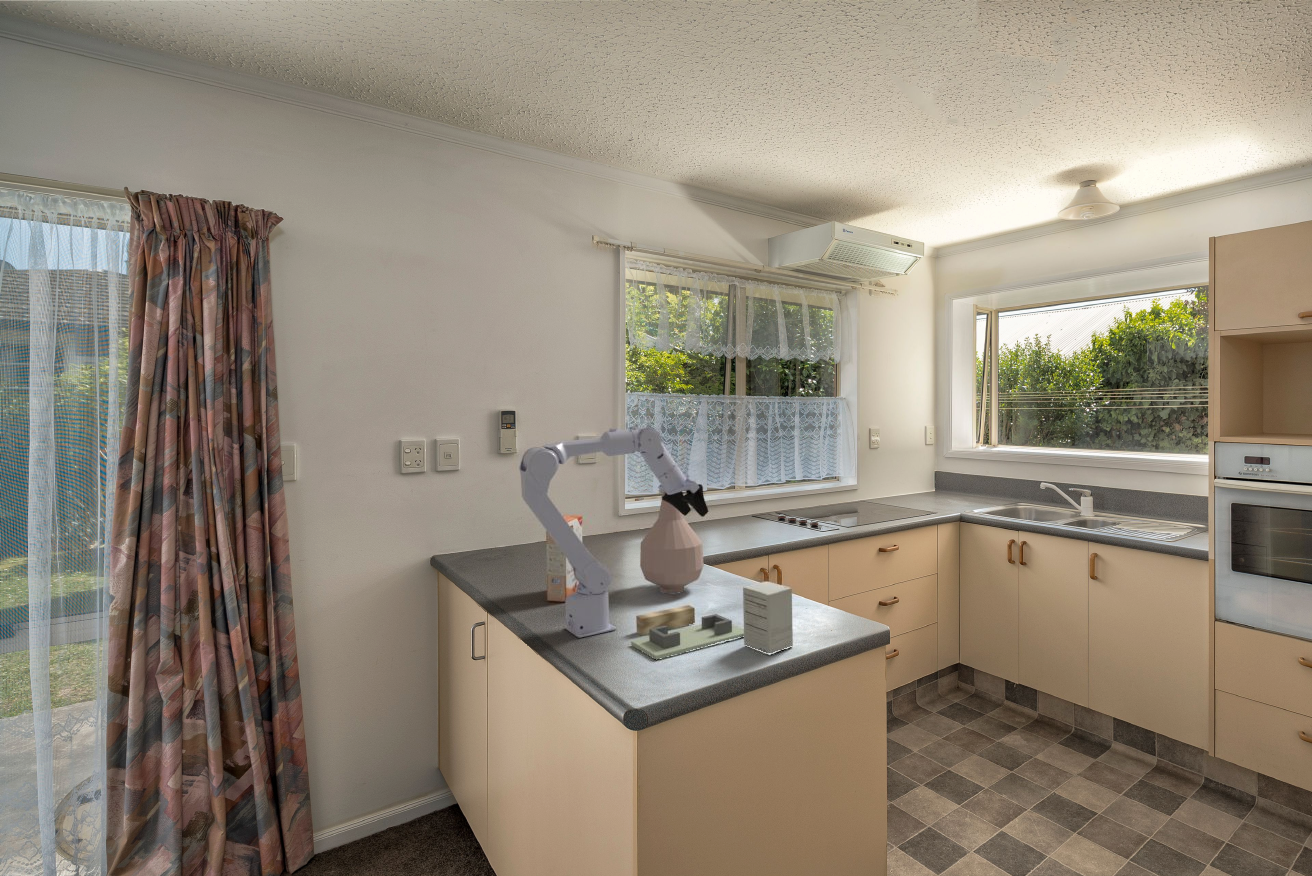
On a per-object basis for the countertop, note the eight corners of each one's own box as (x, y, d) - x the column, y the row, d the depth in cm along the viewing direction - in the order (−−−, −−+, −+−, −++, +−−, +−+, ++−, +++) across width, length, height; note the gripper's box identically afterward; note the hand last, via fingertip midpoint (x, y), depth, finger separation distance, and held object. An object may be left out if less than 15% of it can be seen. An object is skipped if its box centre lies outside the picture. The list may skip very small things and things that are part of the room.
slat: (642, 636, 140) (641, 618, 139) (636, 633, 142) (636, 615, 142) (694, 624, 147) (694, 607, 147) (688, 621, 149) (688, 605, 149)
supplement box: (767, 638, 136) (766, 580, 136) (793, 648, 131) (793, 587, 130) (742, 646, 132) (741, 586, 132) (768, 656, 126) (768, 594, 126)
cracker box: (568, 602, 165) (566, 523, 164) (546, 602, 166) (544, 522, 165) (584, 588, 179) (583, 514, 178) (564, 587, 180) (562, 514, 179)
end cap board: (656, 660, 125) (655, 643, 125) (631, 645, 134) (630, 629, 134) (749, 636, 138) (749, 620, 138) (721, 623, 146) (721, 608, 146)
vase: (649, 602, 164) (647, 487, 163) (633, 584, 181) (631, 480, 180) (713, 595, 169) (711, 483, 168) (691, 579, 186) (690, 477, 185)
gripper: (693, 458, 146) (724, 503, 149) (661, 460, 158) (690, 502, 162) (673, 477, 143) (705, 523, 146) (642, 478, 155) (672, 520, 159)
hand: (696, 513), depth 154 cm, fingers open, 7 cm apart
